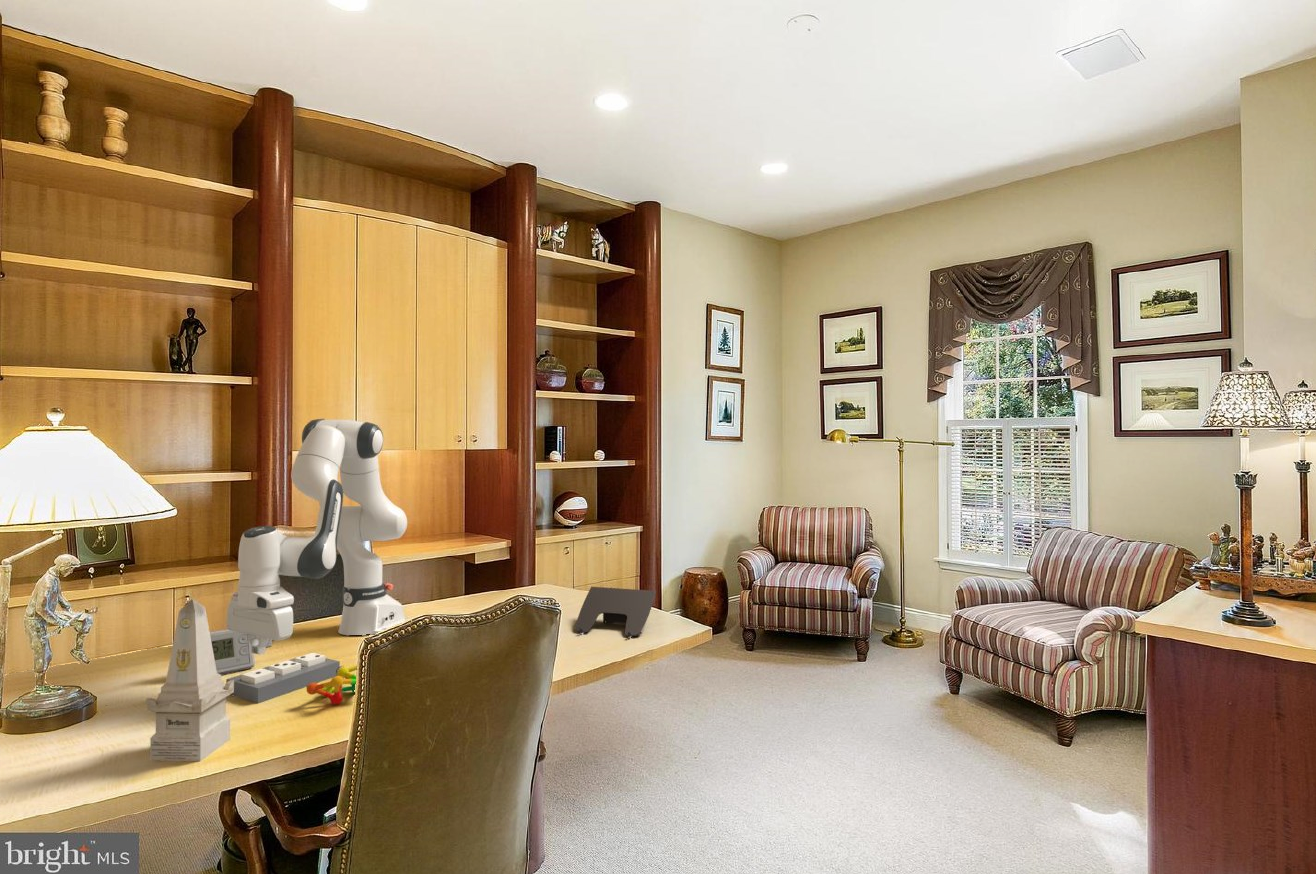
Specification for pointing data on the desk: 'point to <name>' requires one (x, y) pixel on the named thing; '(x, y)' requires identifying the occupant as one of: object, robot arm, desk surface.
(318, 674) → the button panel
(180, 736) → the miniature monument
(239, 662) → the digital clock
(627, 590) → the portable electronic device stand
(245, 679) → the button
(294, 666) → the button
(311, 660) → the button
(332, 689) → the decorative model
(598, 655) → the desk surface
